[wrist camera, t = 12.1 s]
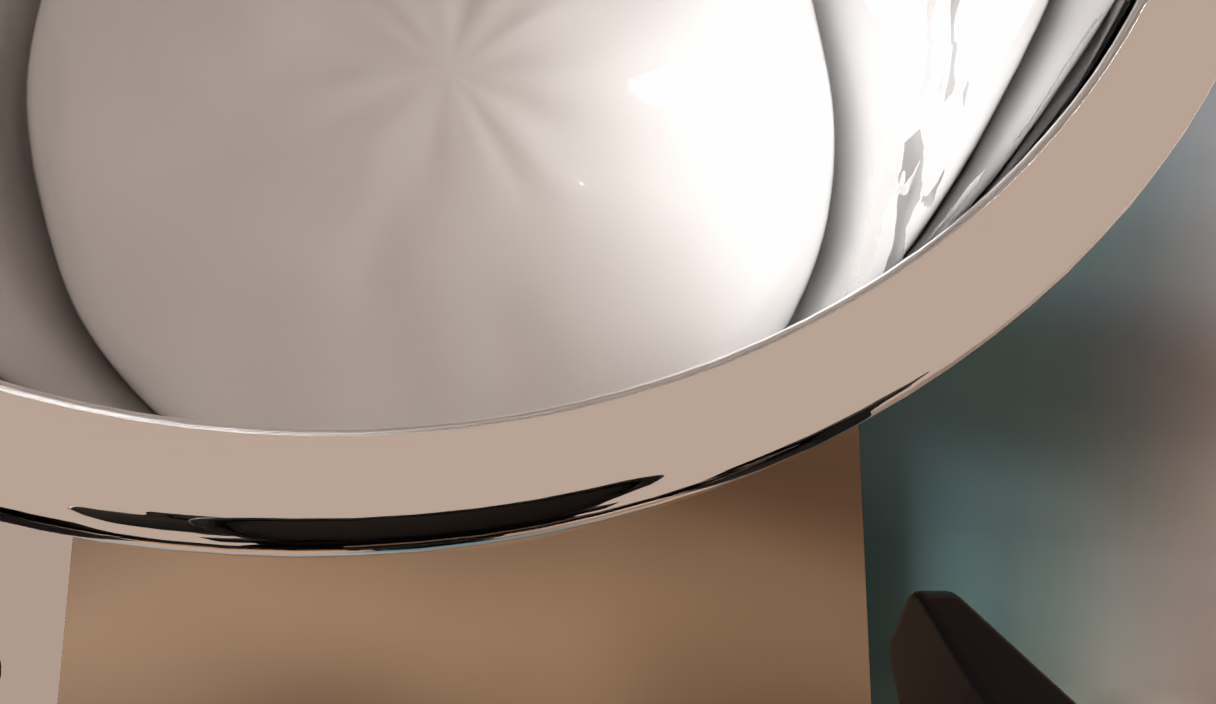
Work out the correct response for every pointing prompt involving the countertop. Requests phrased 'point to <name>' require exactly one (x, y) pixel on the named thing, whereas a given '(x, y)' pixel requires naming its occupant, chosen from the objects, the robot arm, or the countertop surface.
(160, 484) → the beer glass
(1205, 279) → the countertop surface
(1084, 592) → the countertop surface
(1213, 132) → the countertop surface
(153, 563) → the walnut board
